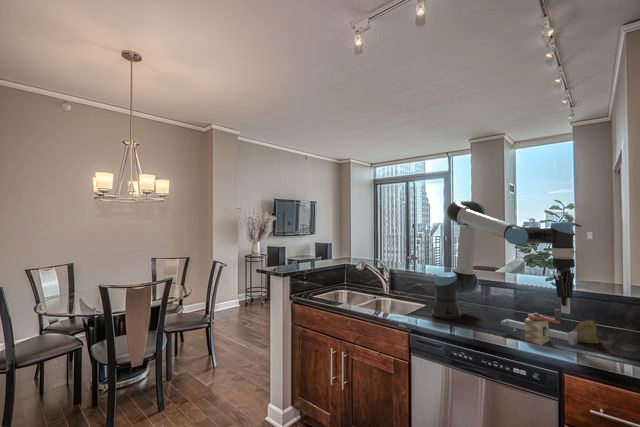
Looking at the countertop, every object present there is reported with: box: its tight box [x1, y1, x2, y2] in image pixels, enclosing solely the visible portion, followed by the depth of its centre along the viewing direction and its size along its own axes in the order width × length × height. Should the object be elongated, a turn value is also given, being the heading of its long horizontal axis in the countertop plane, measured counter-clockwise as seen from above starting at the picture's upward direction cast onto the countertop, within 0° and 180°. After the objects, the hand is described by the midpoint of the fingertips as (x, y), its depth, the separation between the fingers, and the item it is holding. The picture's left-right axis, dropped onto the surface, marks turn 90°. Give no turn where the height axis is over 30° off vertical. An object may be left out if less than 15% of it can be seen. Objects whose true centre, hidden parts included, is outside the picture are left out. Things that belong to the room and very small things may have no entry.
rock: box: [571, 319, 600, 344], centre depth 137 cm, size 11×9×10 cm
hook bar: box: [500, 318, 578, 346], centre depth 137 cm, size 27×6×4 cm, turn 35°
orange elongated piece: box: [527, 308, 563, 325], centre depth 135 cm, size 12×6×6 cm, turn 35°
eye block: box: [524, 317, 550, 346], centre depth 137 cm, size 6×8×10 cm
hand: (565, 312), depth 134 cm, fingers closed
